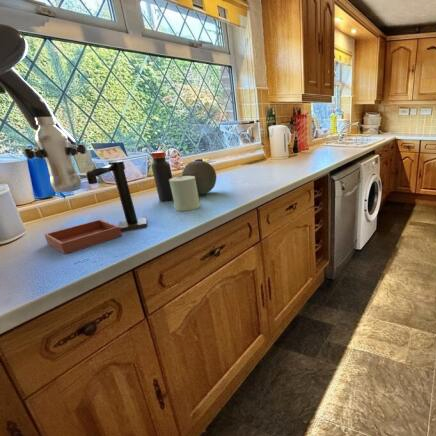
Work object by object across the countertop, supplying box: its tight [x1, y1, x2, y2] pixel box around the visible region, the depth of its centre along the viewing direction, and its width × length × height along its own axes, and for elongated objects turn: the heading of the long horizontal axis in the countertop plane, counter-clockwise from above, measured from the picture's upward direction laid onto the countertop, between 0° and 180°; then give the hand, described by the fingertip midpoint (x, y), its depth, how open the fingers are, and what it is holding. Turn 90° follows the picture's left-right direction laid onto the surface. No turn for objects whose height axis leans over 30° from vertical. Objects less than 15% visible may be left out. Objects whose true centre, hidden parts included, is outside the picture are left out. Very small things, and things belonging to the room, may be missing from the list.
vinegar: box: [150, 151, 174, 202], centre depth 126 cm, size 7×7×20 cm
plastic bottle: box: [34, 117, 83, 193], centre depth 81 cm, size 6×7×20 cm
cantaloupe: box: [181, 160, 217, 196], centre depth 133 cm, size 14×14×15 cm
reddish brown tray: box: [44, 219, 123, 255], centre depth 89 cm, size 14×13×3 cm
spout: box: [85, 160, 126, 185], centre depth 87 cm, size 16×4×4 cm, turn 8°
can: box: [169, 175, 201, 212], centre depth 116 cm, size 9×9×12 cm
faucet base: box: [112, 170, 148, 232], centre depth 97 cm, size 8×7×19 cm
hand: (56, 153), depth 79 cm, fingers closed on plastic bottle, 6 cm apart
